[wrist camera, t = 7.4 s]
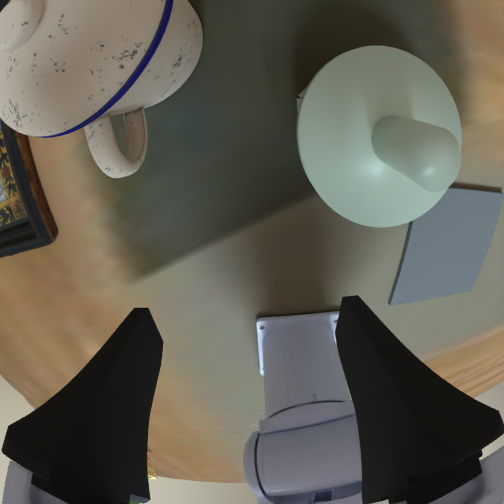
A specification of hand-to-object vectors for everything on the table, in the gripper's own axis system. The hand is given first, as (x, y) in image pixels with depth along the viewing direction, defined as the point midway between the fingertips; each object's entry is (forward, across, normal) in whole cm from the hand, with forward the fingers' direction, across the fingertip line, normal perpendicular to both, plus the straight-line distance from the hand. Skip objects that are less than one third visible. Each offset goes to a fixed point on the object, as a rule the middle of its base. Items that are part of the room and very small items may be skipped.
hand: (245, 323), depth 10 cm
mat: (+10, -19, +4) cm, 22 cm away
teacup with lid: (+11, +6, -10) cm, 16 cm away
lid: (+7, -8, -5) cm, 12 cm away
